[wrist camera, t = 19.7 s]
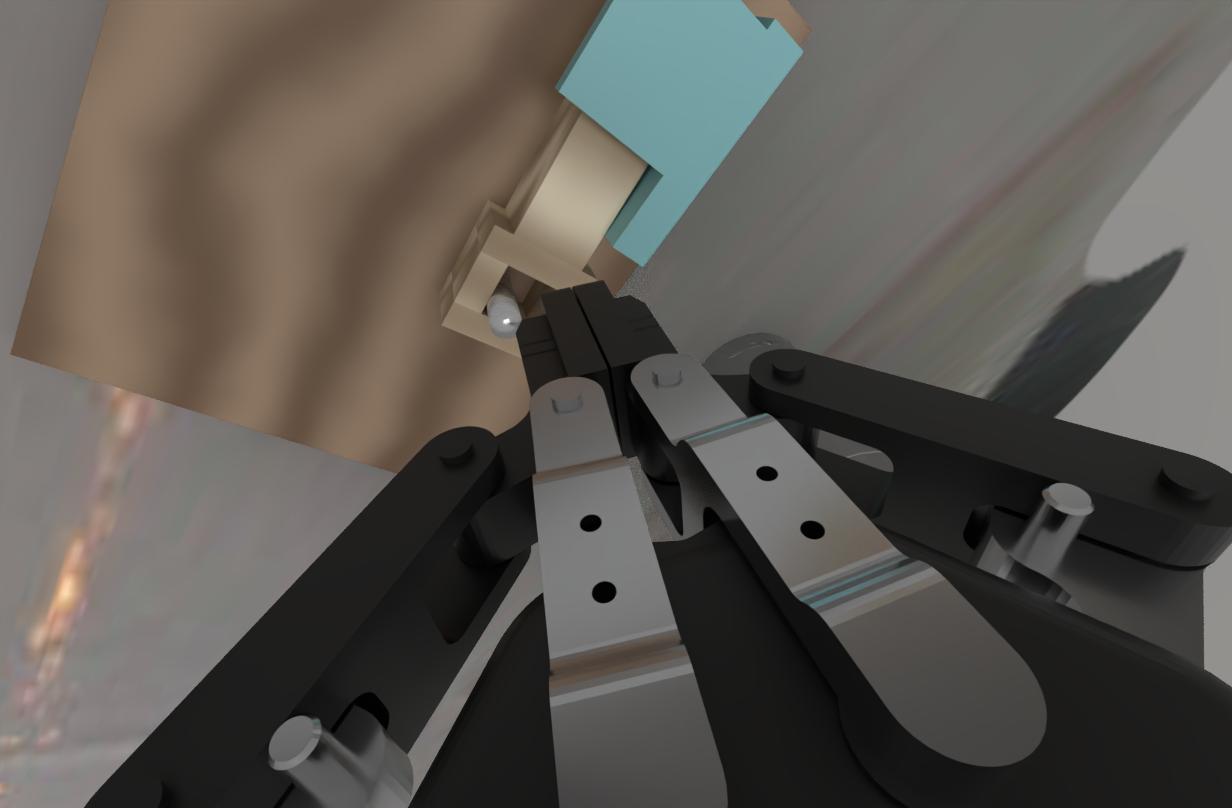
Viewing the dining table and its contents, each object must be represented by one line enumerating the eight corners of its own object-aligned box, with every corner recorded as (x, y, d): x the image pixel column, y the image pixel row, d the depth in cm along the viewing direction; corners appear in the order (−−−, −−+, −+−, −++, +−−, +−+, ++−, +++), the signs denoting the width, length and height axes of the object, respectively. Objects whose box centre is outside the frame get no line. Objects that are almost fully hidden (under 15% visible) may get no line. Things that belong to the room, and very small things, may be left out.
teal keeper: (747, 40, 29) (803, 51, 25) (614, 229, 33) (643, 267, 29) (630, -87, 25) (674, -101, 20) (495, 147, 29) (507, 177, 24)
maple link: (531, 332, 35) (541, 366, 32) (439, 291, 32) (441, 325, 29) (711, 40, 28) (746, 47, 25) (616, -47, 25) (642, -51, 22)
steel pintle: (514, 271, 33) (528, 319, 28) (500, 293, 33) (512, 344, 29) (490, 257, 32) (500, 304, 27) (476, 280, 33) (483, 330, 28)
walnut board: (800, 28, 30) (811, 30, 29) (466, 484, 43) (467, 495, 42) (289, -586, 17) (281, -619, 16) (23, 342, 29) (10, 354, 29)
